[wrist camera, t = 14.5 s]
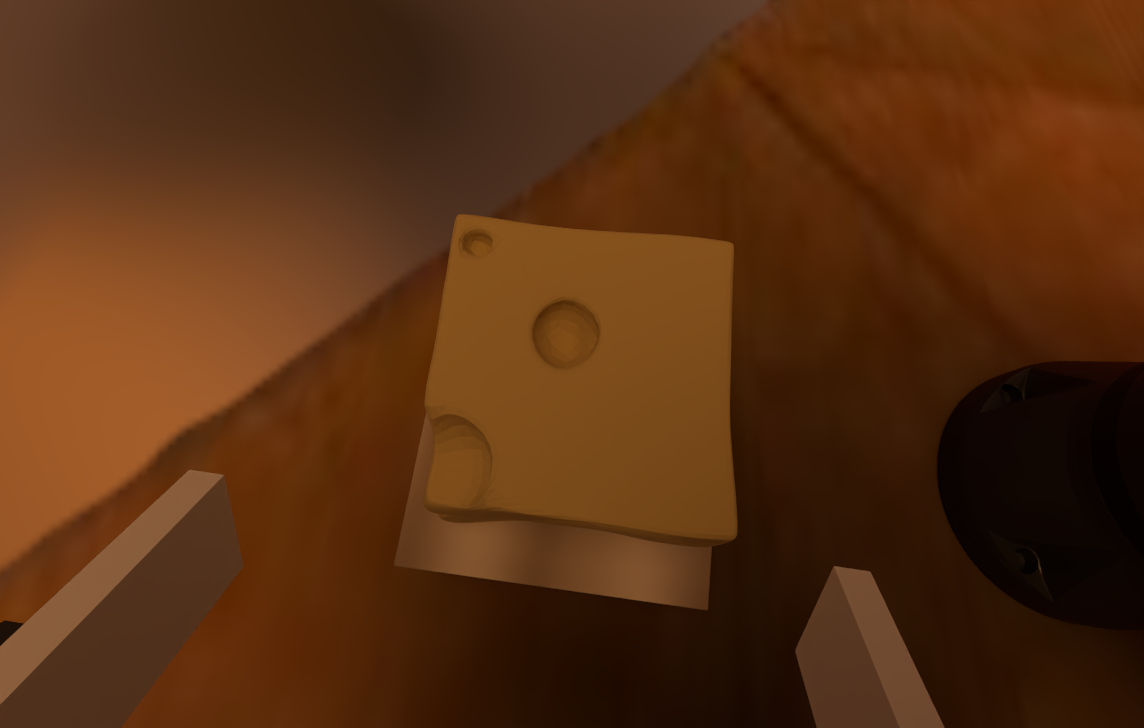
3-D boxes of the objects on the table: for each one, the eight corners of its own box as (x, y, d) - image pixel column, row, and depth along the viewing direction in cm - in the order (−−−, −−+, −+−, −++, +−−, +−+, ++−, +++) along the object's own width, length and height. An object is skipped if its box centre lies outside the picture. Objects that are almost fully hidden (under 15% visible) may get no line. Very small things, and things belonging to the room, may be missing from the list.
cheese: (449, 522, 26) (386, 513, 17) (484, 303, 29) (448, 190, 20) (677, 547, 26) (746, 553, 17) (688, 325, 29) (752, 222, 20)
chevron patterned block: (691, 361, 37) (726, 315, 29) (673, 593, 33) (707, 610, 25) (475, 332, 37) (454, 279, 30) (431, 559, 33) (393, 565, 26)
